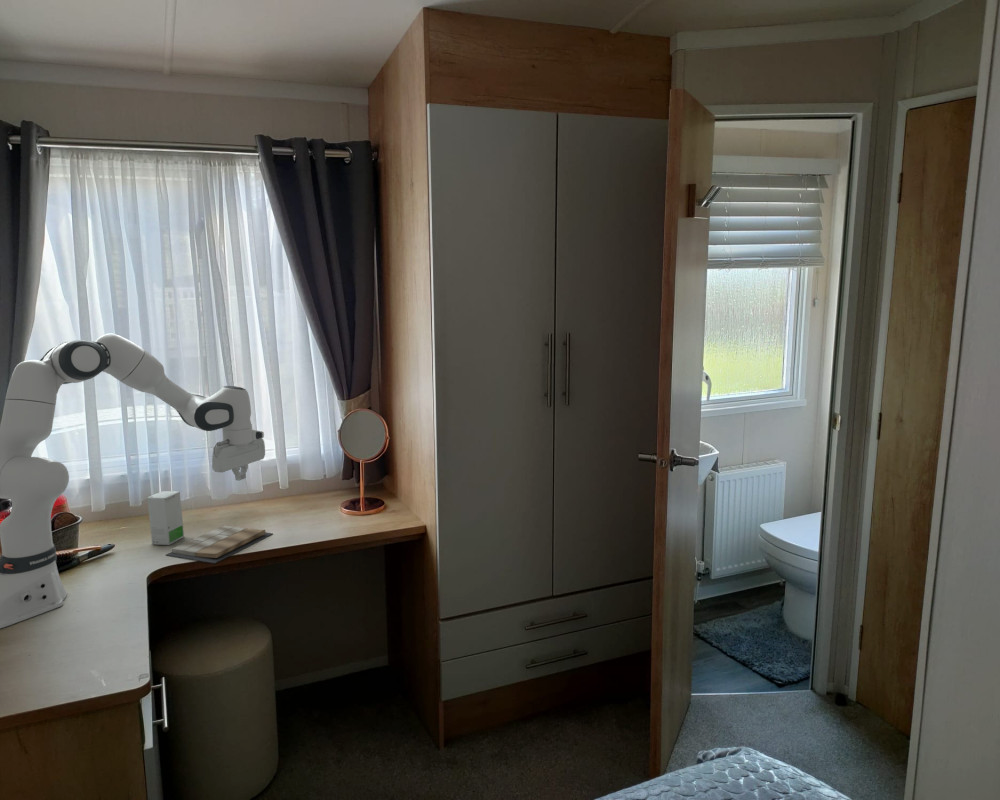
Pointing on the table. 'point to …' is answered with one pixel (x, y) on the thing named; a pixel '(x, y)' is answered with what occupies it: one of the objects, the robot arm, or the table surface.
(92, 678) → the table surface
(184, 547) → the laid floor
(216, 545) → the plank
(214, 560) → the underlay
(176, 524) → the skincare box
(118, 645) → the table surface
